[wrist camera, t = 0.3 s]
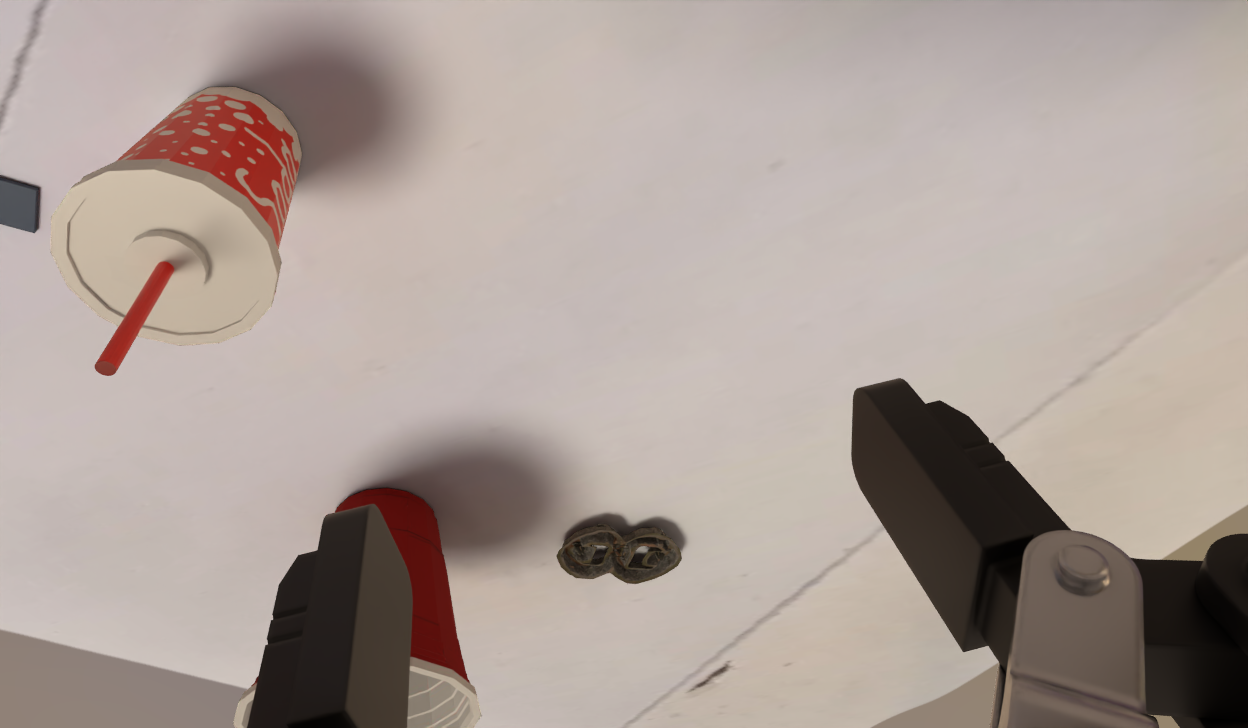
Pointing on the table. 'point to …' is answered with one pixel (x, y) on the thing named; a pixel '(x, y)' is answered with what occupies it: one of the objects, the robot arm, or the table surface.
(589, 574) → the corroded twin loop
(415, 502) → the plastic cup
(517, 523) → the table surface
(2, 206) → the frame
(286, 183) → the beverage cup
